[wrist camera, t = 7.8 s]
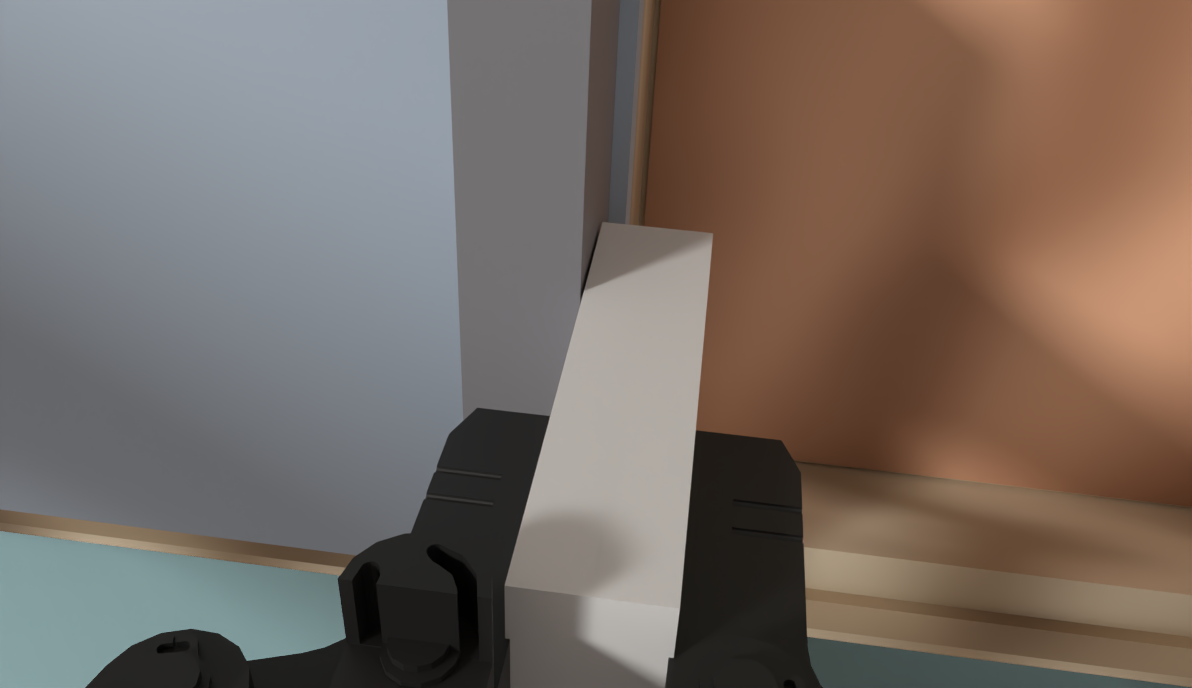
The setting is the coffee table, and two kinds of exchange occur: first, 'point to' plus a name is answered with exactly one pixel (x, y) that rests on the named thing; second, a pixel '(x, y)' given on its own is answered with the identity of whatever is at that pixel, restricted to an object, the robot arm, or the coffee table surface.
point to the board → (932, 311)
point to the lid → (292, 247)
